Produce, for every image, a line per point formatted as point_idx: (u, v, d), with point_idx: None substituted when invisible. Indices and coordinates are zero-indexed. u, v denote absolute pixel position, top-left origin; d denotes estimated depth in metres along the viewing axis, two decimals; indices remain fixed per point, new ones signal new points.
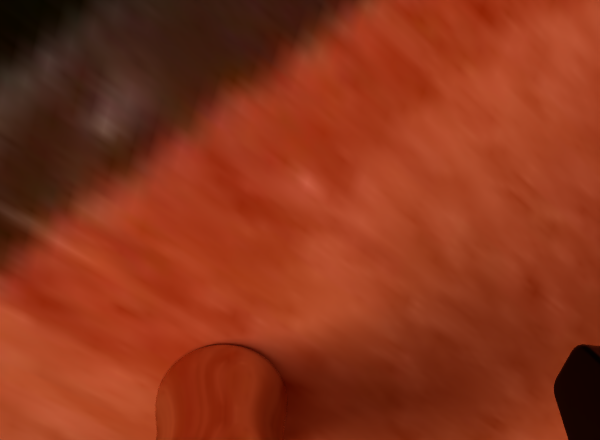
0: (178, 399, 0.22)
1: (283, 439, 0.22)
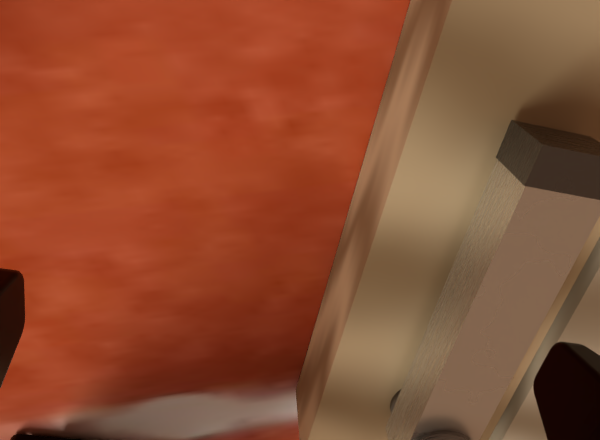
0: None
1: None
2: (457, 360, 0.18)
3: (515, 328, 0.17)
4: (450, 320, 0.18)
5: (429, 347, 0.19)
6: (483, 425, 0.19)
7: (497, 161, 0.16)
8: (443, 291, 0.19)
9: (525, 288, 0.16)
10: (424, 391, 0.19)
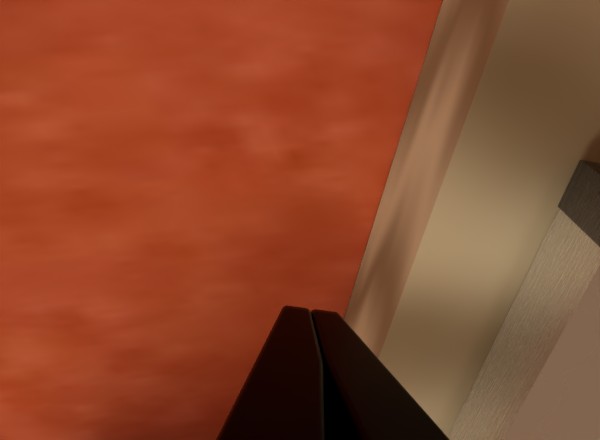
0: None
1: None
2: None
3: (581, 421, 0.13)
4: (496, 406, 0.14)
5: (467, 433, 0.15)
6: None
7: (560, 211, 0.13)
8: (485, 365, 0.15)
9: (597, 374, 0.13)
10: None
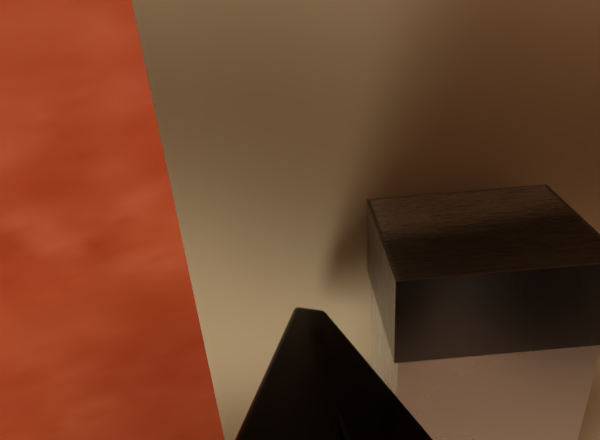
0: None
1: None
2: None
3: None
4: None
5: None
6: None
7: (371, 277, 0.08)
8: None
9: None
10: None
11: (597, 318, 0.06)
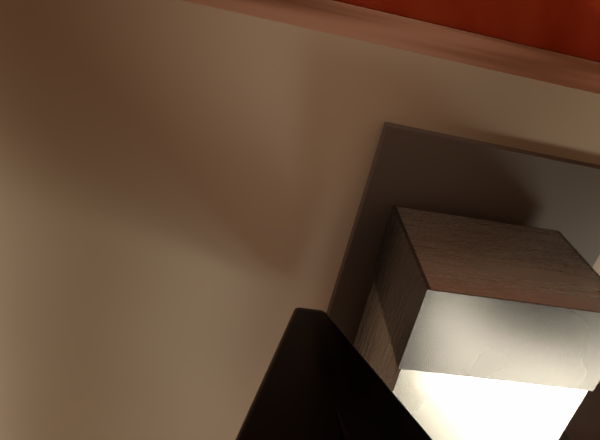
0: None
1: None
2: None
3: None
4: None
5: None
6: None
7: None
8: None
9: None
10: None
11: (592, 364, 0.07)
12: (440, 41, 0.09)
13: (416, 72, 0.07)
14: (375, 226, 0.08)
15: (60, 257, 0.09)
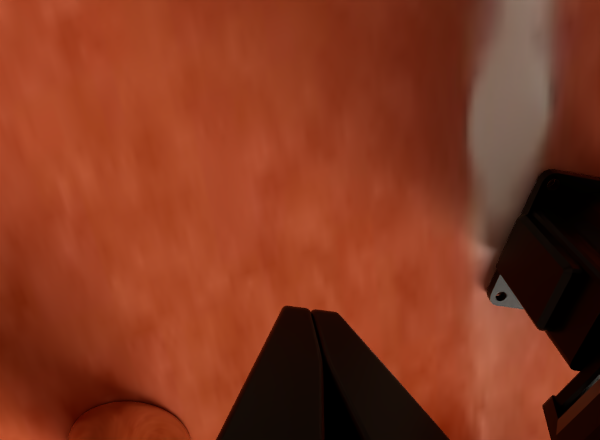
0: None
1: None
2: None
3: None
4: None
5: None
6: None
7: None
8: None
9: None
10: None
11: None
12: None
13: None
14: None
15: None
